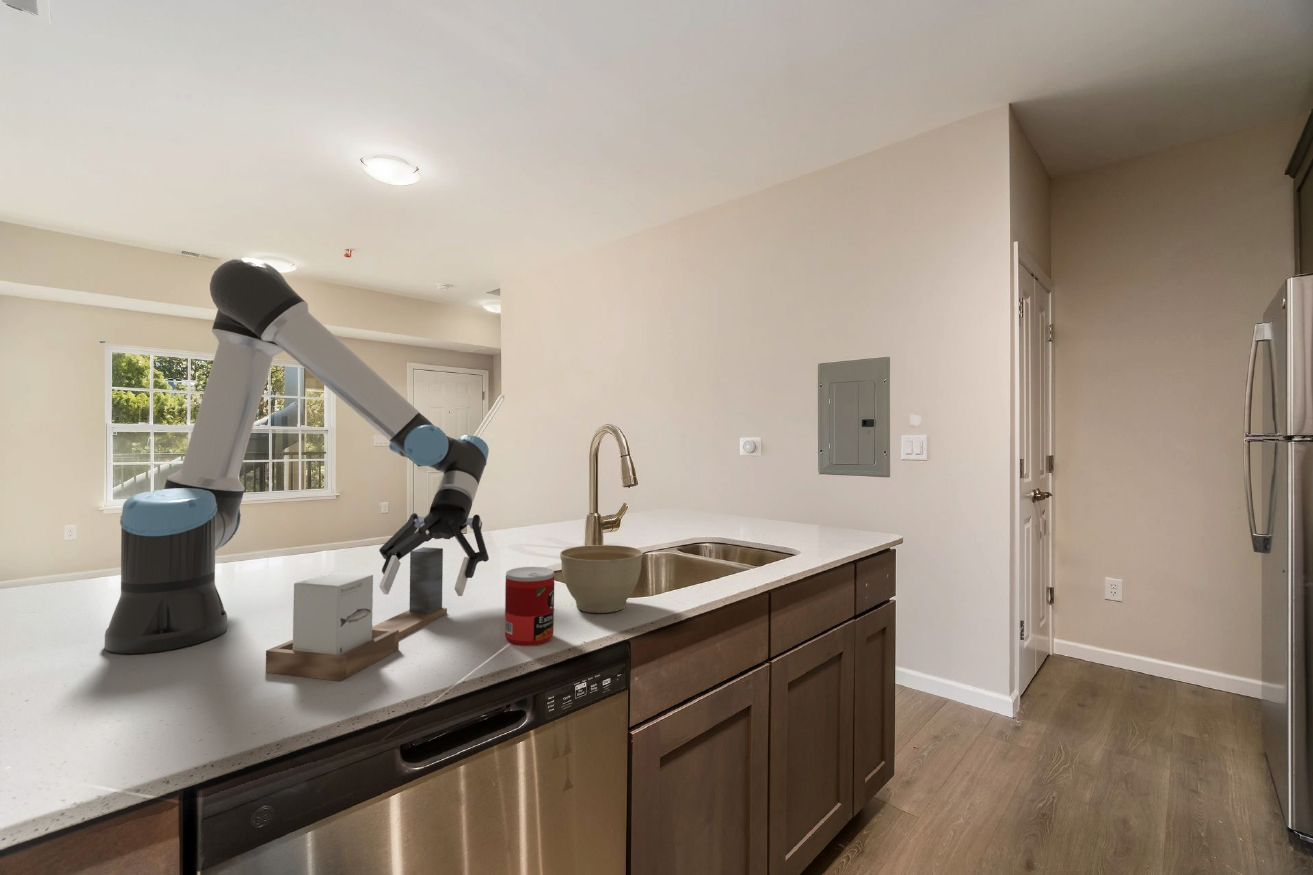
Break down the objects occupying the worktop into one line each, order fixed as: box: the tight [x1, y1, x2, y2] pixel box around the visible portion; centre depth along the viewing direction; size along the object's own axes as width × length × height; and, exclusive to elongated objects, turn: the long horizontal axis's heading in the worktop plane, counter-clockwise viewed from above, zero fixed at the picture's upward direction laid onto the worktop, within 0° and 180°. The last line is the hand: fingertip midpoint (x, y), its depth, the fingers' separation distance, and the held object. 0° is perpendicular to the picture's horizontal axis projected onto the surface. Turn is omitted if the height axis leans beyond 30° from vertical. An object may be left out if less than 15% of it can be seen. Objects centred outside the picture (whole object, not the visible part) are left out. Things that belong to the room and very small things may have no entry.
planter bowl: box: [559, 544, 644, 614], centre depth 114 cm, size 16×16×11 cm
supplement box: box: [292, 571, 374, 655], centre depth 83 cm, size 7×7×13 cm
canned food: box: [504, 566, 555, 647], centre depth 96 cm, size 8×8×11 cm
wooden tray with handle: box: [265, 547, 448, 682], centre depth 94 cm, size 12×30×12 cm, turn 168°
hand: (420, 591), depth 104 cm, fingers open, 13 cm apart
